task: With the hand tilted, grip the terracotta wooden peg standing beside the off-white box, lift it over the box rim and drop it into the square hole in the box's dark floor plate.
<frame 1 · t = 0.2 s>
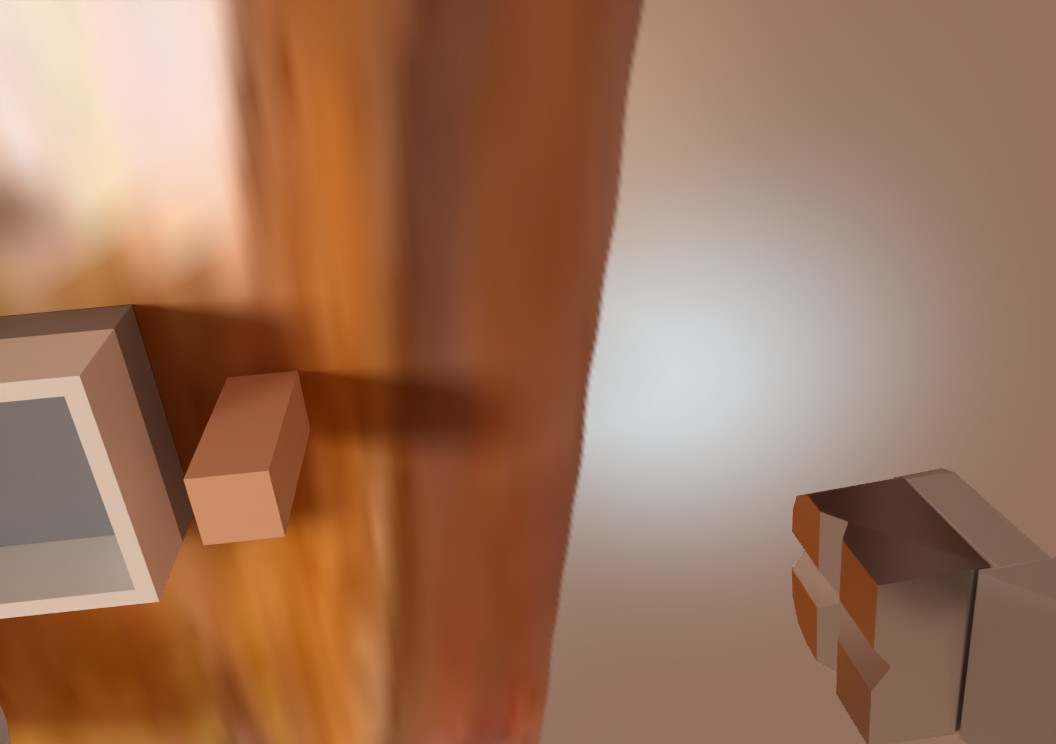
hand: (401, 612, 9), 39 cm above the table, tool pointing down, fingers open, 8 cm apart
socket box: (6, 429, 51), on the table
peg: (269, 403, 52), on the table
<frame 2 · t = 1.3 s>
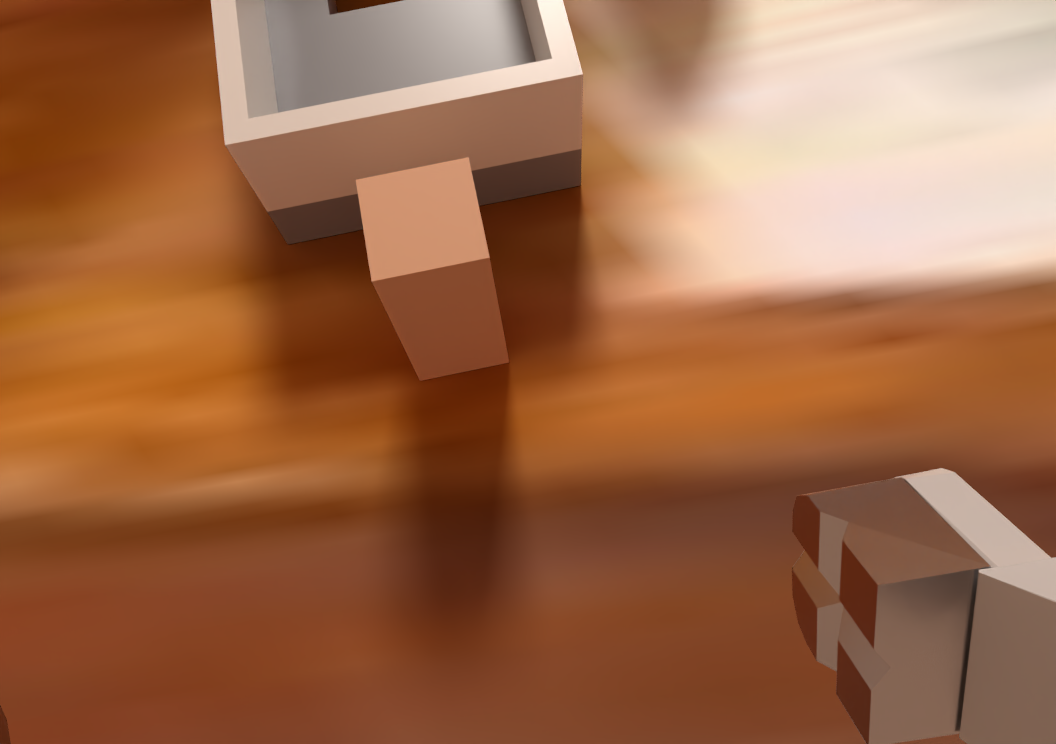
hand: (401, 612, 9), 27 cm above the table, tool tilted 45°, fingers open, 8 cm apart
socket box: (405, 61, 45), on the table
peg: (456, 330, 40), on the table
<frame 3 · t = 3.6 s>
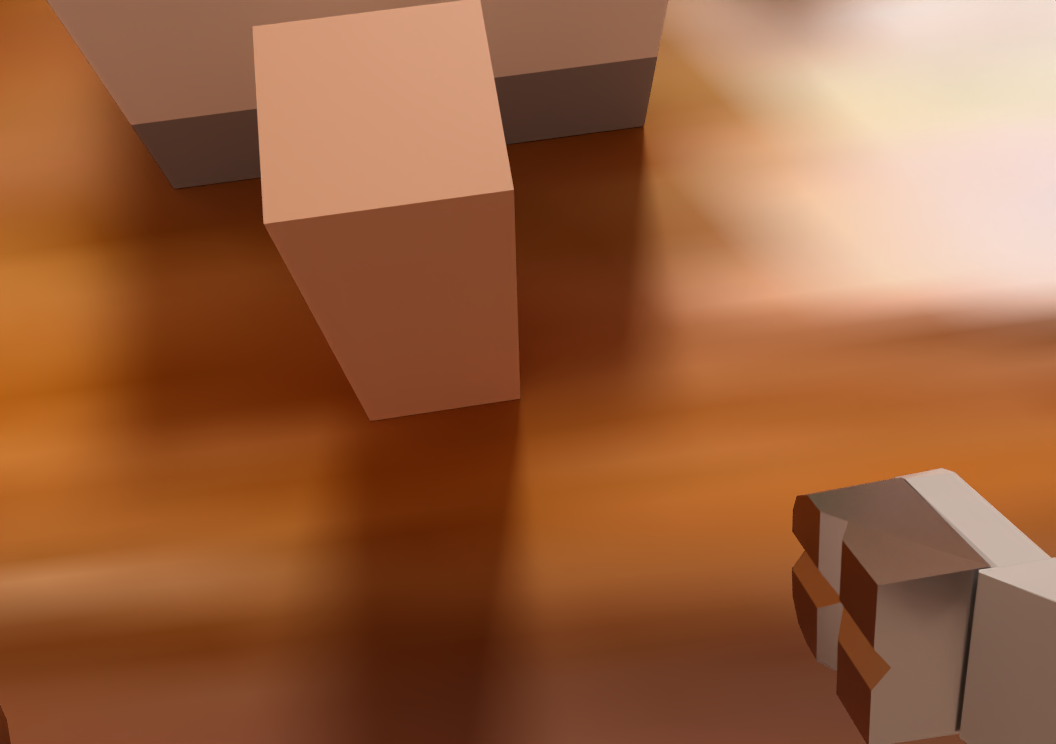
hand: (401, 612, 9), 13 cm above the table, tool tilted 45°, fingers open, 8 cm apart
peg: (436, 341, 24), on the table
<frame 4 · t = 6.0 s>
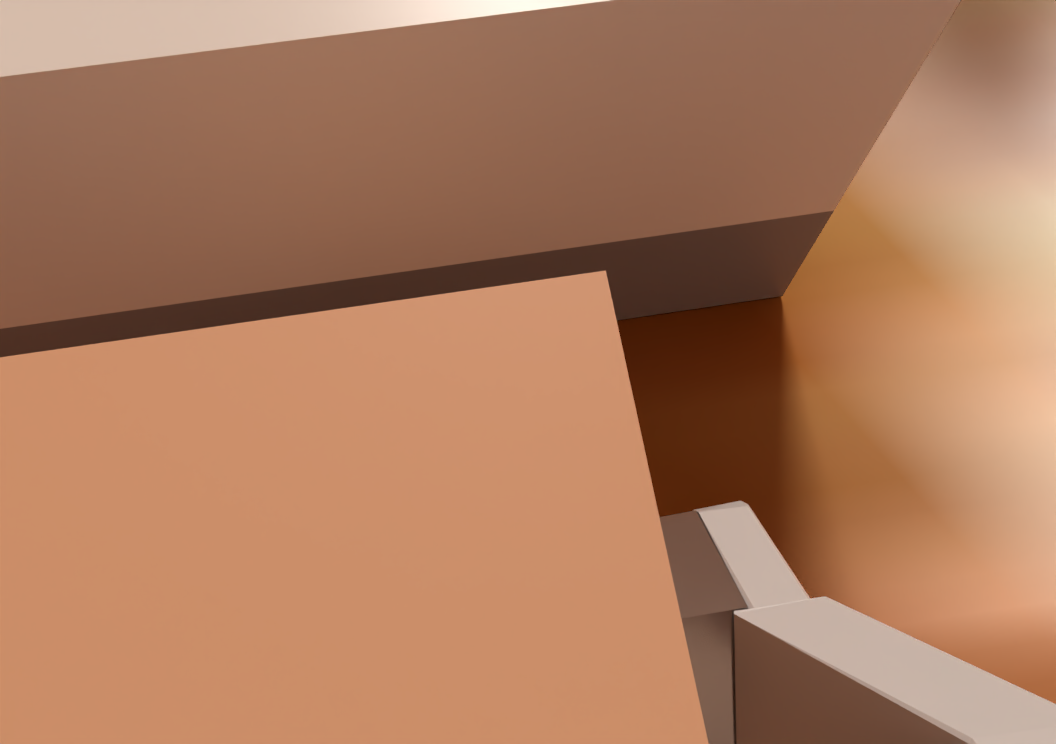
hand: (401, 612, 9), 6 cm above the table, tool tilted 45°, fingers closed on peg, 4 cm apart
peg: (453, 695, 14), on the table, touching gripper
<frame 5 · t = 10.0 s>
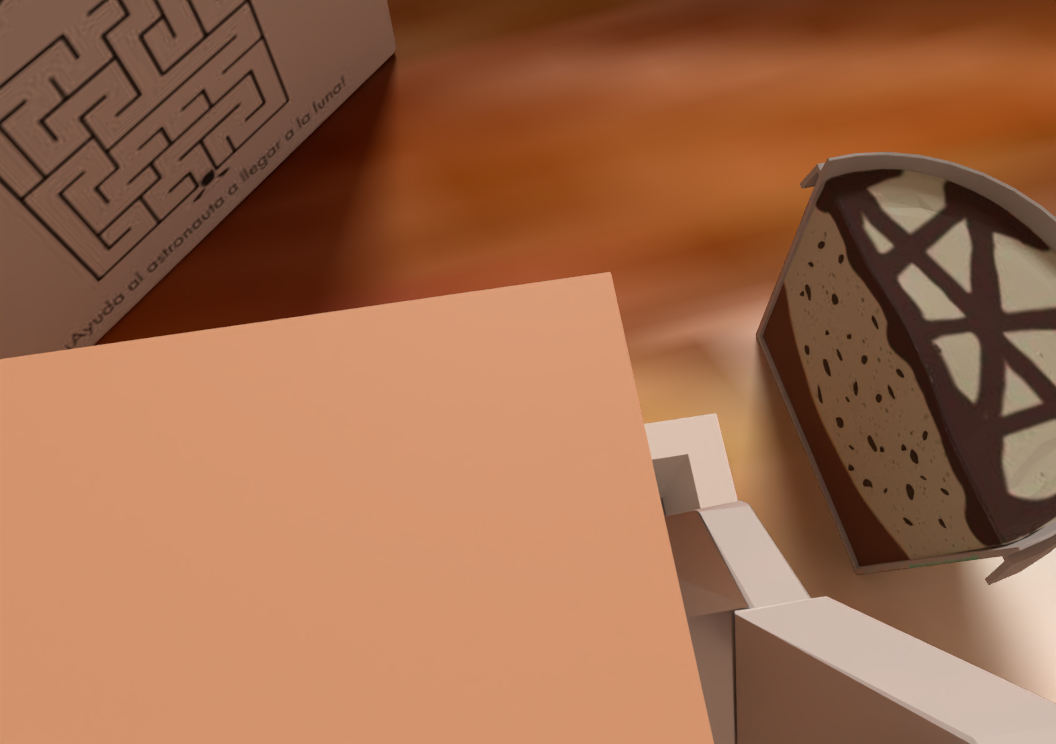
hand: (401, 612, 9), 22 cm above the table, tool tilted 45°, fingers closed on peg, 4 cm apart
cereal box: (160, 177, 36), on the table
food container: (880, 427, 32), on the table
peg: (454, 696, 14), point 16 cm above the table, touching gripper
when the fingers open (8 cm above the table, at t = 13.8 s): peg drops 2 cm, resting in socket box.
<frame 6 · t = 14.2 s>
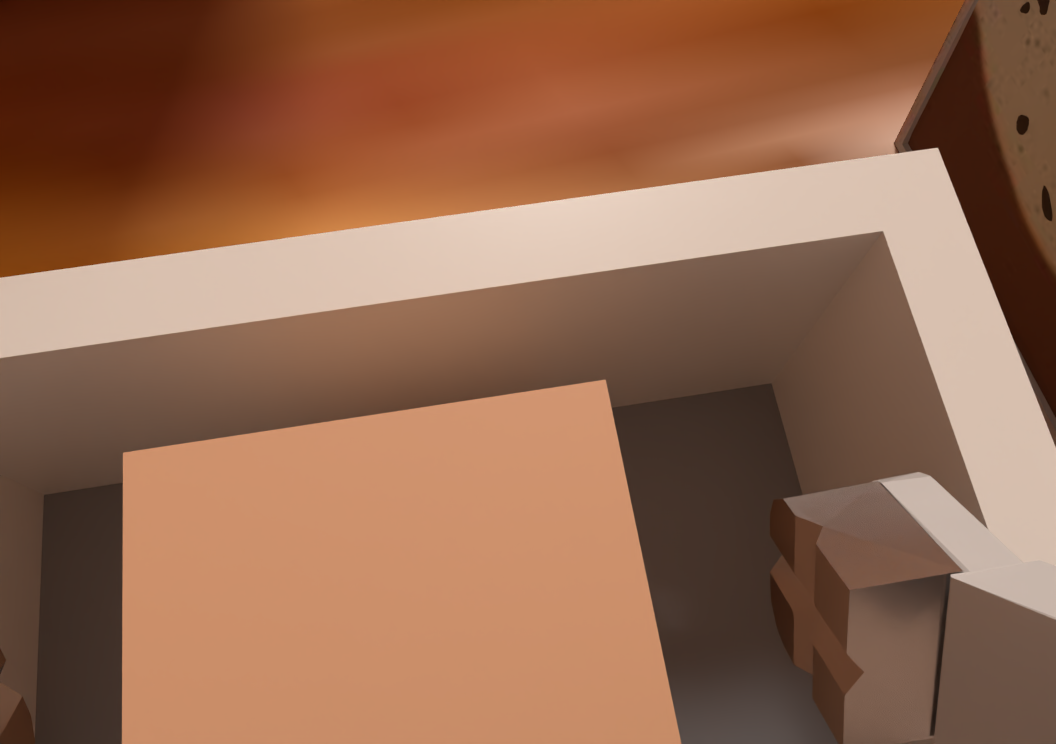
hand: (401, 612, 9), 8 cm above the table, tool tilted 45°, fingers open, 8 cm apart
peg: (470, 696, 16), resting in socket box
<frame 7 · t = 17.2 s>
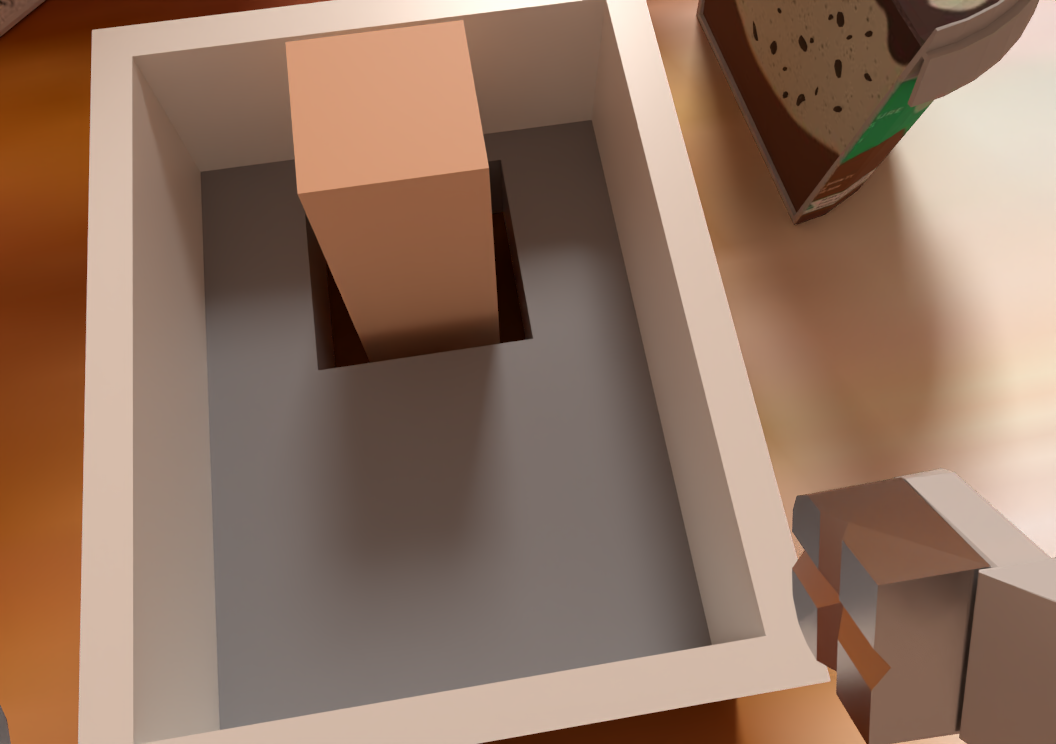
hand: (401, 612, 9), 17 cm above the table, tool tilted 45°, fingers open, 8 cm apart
socket box: (440, 422, 27), on the table
food container: (821, 98, 32), on the table
peg: (429, 304, 28), resting in socket box
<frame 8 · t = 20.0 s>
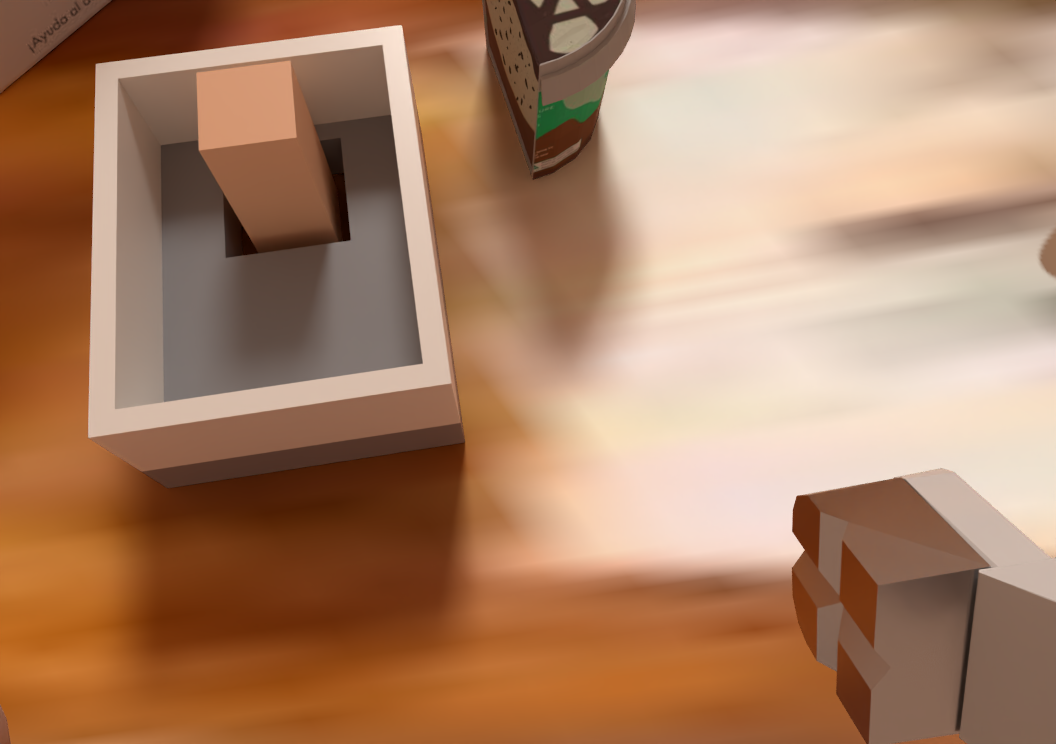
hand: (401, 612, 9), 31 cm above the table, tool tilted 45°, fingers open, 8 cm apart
socket box: (304, 295, 45), on the table
food container: (561, 100, 50), on the table
peg: (302, 227, 46), resting in socket box
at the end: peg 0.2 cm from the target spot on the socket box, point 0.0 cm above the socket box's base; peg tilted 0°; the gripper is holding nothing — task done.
